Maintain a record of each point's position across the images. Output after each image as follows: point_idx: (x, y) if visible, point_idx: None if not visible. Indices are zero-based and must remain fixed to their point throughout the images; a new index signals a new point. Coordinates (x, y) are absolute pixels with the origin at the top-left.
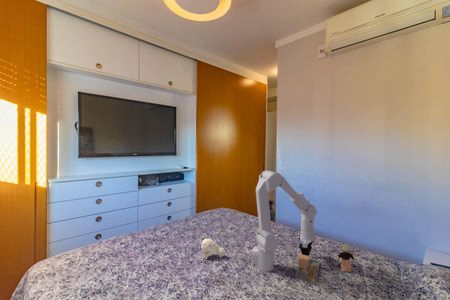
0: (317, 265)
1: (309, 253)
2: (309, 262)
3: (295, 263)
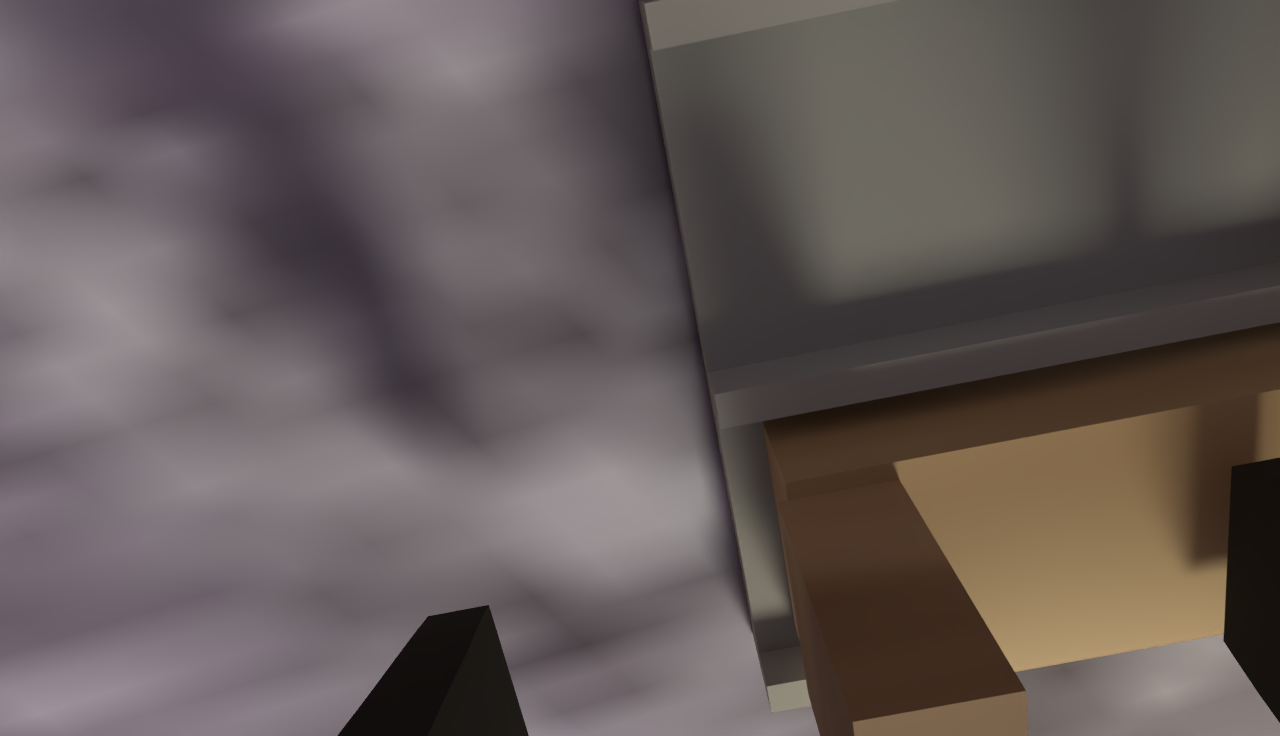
0: (1011, 6)
1: (487, 610)
2: (1066, 360)
3: (1122, 701)
